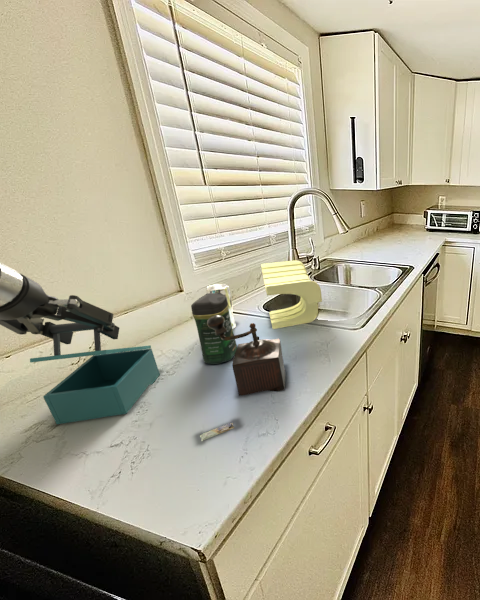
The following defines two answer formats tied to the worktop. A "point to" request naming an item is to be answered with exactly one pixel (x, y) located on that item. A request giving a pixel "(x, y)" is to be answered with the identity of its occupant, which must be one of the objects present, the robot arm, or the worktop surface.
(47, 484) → the worktop surface
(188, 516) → the worktop surface
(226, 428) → the granola bar
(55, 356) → the lunchbox lid
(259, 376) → the manual coffee grinder
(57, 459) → the worktop surface
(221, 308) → the coffee jar
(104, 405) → the lunchbox
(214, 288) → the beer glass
